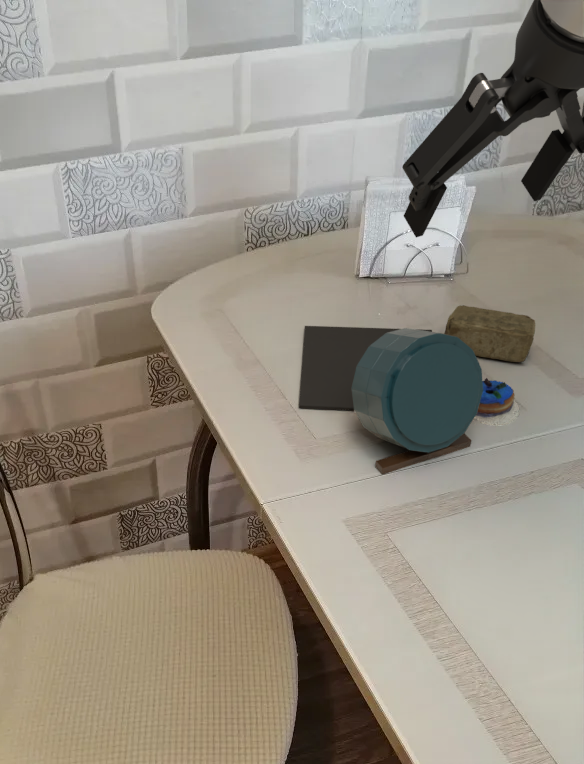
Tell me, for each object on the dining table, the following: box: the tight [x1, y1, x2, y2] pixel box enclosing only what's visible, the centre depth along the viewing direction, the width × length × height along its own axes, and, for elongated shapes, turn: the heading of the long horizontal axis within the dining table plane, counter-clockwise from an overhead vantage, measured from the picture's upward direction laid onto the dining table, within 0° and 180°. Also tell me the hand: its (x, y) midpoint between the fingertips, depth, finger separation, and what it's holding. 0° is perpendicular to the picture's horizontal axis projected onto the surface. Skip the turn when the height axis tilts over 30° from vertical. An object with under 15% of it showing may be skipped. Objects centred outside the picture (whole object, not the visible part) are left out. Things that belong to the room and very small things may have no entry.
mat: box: [298, 325, 433, 412], centre depth 107 cm, size 18×20×1 cm
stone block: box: [443, 304, 537, 363], centre depth 108 cm, size 6×12×5 cm, turn 68°
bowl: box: [352, 327, 483, 453], centre depth 90 cm, size 13×13×7 cm
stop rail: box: [374, 433, 473, 476], centre depth 92 cm, size 12×2×2 cm, turn 113°
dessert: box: [472, 377, 520, 427], centre depth 98 cm, size 8×7×6 cm
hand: (472, 207), depth 79 cm, fingers open, 13 cm apart
